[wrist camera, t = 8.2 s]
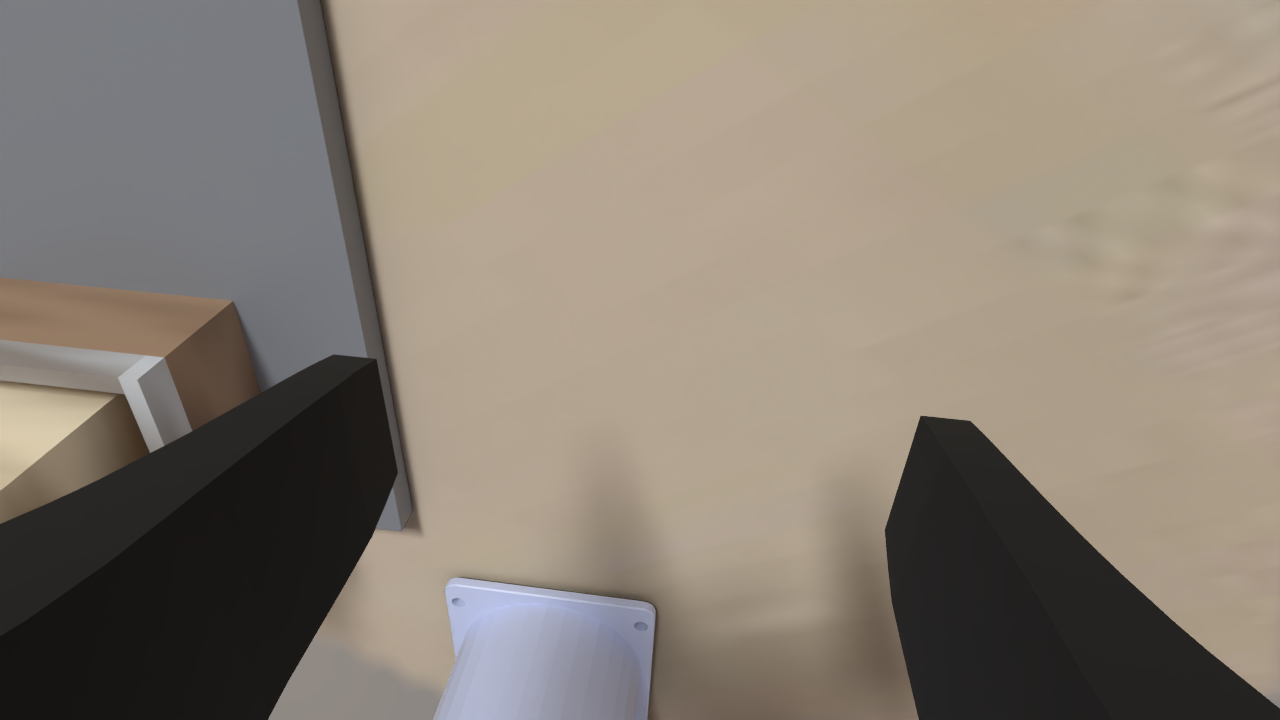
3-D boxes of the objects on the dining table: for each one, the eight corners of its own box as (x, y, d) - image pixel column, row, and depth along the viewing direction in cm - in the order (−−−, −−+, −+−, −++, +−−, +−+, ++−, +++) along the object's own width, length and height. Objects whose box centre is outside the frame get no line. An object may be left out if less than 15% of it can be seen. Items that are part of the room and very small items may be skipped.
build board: (412, 510, 27) (401, 531, 26) (101, 473, 28) (81, 491, 27) (308, -66, 17) (284, -63, 16) (-173, -93, 18) (-219, -92, 17)
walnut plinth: (291, 492, 25) (221, 585, 22) (87, 467, 26) (-10, 554, 23) (233, 300, 21) (136, 379, 18) (-7, 276, 22) (-144, 348, 18)
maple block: (176, 513, 22) (43, 661, 18) (37, 496, 22) (-125, 638, 18) (122, 390, 20) (-47, 529, 15) (-33, 374, 20) (-239, 505, 16)
